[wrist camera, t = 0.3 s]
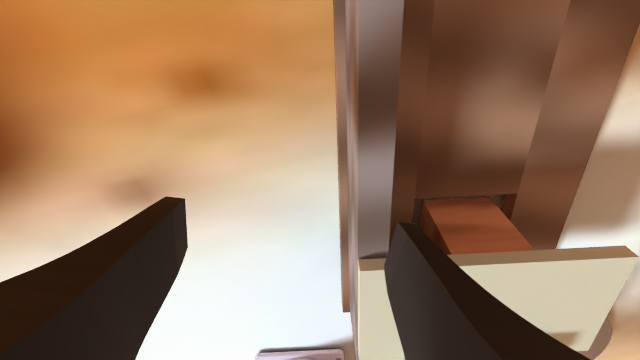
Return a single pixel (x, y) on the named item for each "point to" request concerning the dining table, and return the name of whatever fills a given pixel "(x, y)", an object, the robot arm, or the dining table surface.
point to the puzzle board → (468, 110)
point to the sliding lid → (513, 293)
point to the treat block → (470, 227)
